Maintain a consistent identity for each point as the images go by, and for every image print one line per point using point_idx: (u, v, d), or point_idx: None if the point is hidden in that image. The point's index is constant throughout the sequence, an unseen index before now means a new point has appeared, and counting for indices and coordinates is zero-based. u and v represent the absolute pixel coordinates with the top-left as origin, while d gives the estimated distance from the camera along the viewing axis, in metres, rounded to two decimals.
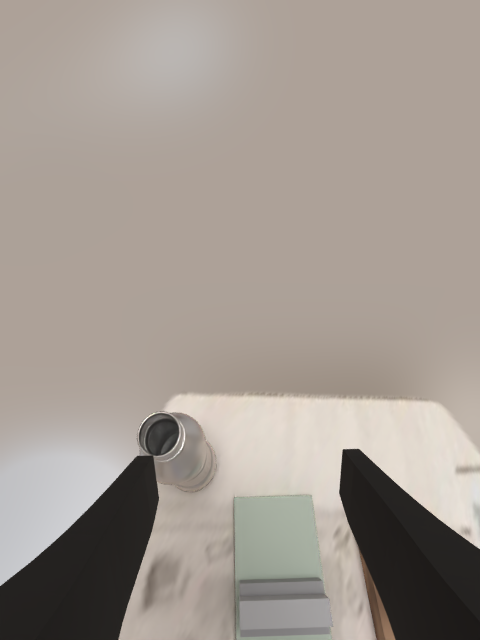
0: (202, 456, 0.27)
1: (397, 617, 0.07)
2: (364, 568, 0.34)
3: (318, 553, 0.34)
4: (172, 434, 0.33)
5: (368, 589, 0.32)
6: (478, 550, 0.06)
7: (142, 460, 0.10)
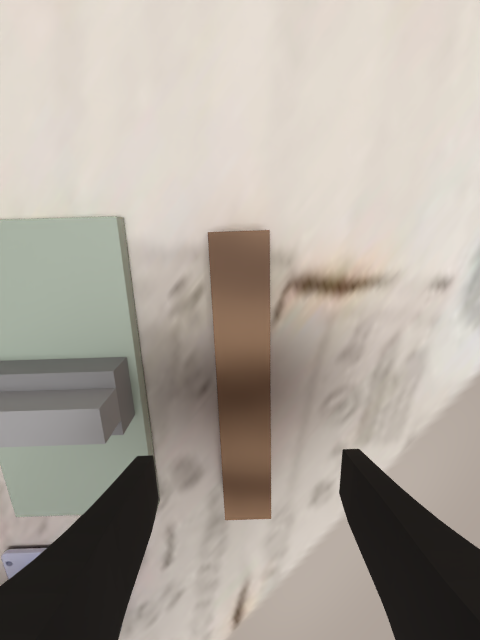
0: None
1: (397, 617, 0.07)
2: None
3: (128, 322, 0.17)
4: None
5: None
6: (478, 550, 0.06)
7: (141, 460, 0.10)
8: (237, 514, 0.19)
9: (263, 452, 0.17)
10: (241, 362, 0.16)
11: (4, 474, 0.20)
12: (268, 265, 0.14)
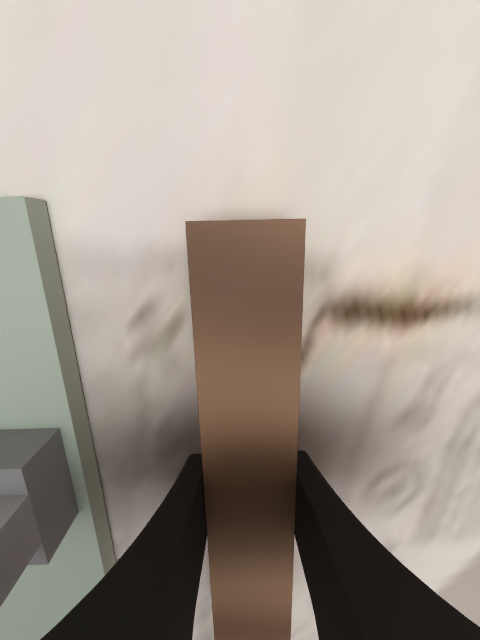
0: None
1: (320, 620, 0.07)
2: None
3: (58, 375, 0.10)
4: None
5: None
6: (387, 553, 0.06)
7: (198, 459, 0.10)
8: None
9: (280, 587, 0.11)
10: (247, 453, 0.09)
11: None
12: (301, 286, 0.08)
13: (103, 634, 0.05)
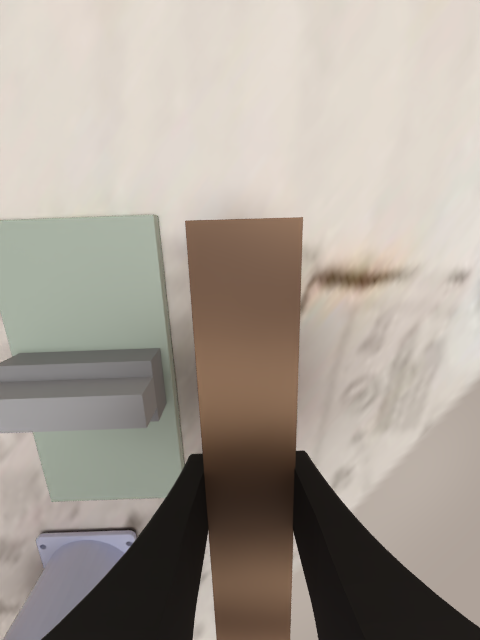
0: None
1: (319, 620, 0.07)
2: None
3: (162, 315, 0.18)
4: None
5: None
6: (387, 553, 0.06)
7: (198, 458, 0.10)
8: None
9: (280, 579, 0.11)
10: (246, 447, 0.09)
11: (41, 460, 0.21)
12: (298, 283, 0.08)
13: (104, 634, 0.05)
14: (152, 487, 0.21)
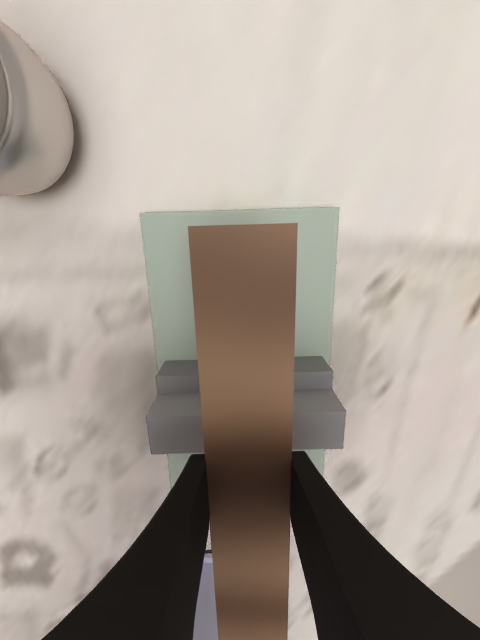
0: None
1: (319, 620, 0.07)
2: None
3: (329, 320, 0.16)
4: None
5: None
6: (386, 553, 0.06)
7: (198, 458, 0.10)
8: None
9: (278, 566, 0.11)
10: (246, 439, 0.10)
11: (171, 478, 0.19)
12: (294, 284, 0.08)
13: (105, 635, 0.05)
14: None
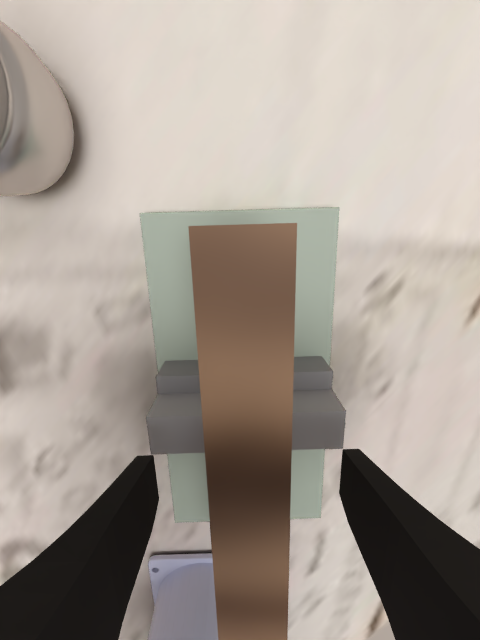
0: None
1: (397, 617, 0.07)
2: None
3: (329, 320, 0.16)
4: None
5: None
6: (478, 550, 0.06)
7: (141, 460, 0.10)
8: None
9: (278, 566, 0.11)
10: (246, 438, 0.10)
11: (171, 478, 0.19)
12: (293, 284, 0.08)
13: None
14: None
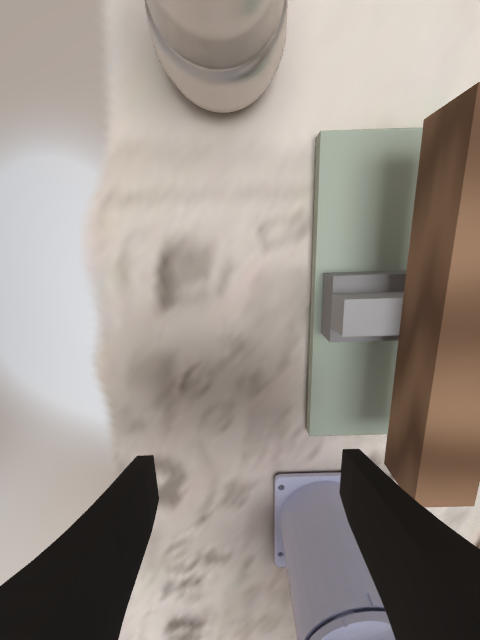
0: None
1: (397, 617, 0.07)
2: (416, 268, 0.14)
3: None
4: None
5: (412, 306, 0.14)
6: (478, 550, 0.06)
7: (141, 460, 0.10)
8: (431, 500, 0.14)
9: None
10: None
11: (312, 390, 0.20)
12: None
13: None
14: None
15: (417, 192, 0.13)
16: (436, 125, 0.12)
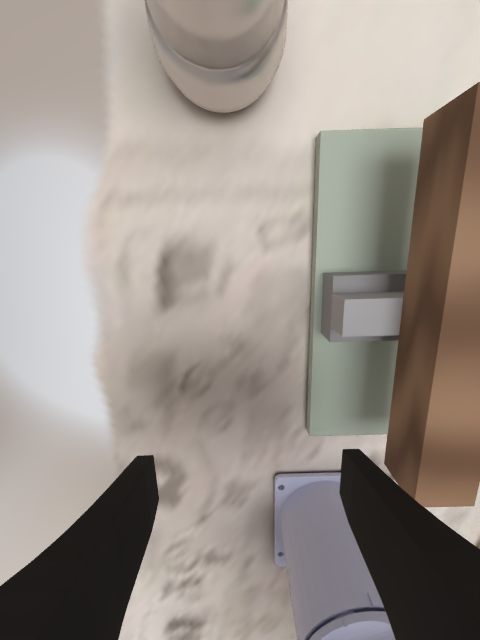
0: None
1: (397, 617, 0.07)
2: (416, 268, 0.14)
3: None
4: None
5: (412, 306, 0.14)
6: (478, 550, 0.06)
7: (141, 460, 0.10)
8: (431, 500, 0.14)
9: None
10: None
11: (312, 390, 0.20)
12: None
13: None
14: None
15: (417, 192, 0.13)
16: (436, 125, 0.12)
